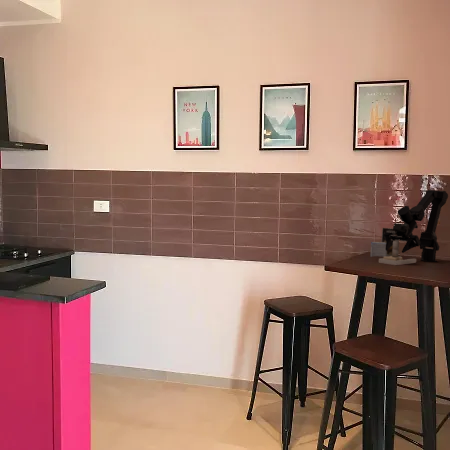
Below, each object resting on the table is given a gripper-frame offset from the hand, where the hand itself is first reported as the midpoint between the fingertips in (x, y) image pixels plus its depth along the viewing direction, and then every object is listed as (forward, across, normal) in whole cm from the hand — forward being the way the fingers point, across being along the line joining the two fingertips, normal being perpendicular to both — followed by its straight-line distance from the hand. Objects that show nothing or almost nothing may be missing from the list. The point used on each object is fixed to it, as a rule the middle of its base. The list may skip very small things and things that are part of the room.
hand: (394, 251), depth 264 cm
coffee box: (-16, -21, +26) cm, 37 cm away
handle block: (+5, 0, +4) cm, 6 cm away
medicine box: (-7, -20, +17) cm, 28 cm away
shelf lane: (+2, 0, +8) cm, 8 cm away
